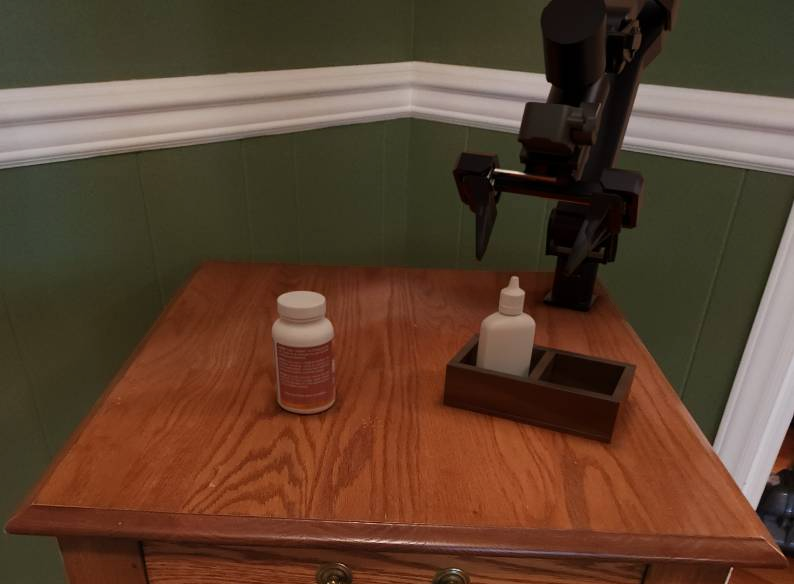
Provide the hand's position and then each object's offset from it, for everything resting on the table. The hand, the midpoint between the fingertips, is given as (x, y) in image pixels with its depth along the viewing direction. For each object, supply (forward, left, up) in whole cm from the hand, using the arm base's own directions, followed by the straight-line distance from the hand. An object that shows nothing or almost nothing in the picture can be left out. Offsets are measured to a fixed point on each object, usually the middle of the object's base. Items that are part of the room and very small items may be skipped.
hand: (521, 266), depth 73 cm
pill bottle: (+13, -18, -14) cm, 26 cm away
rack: (+2, +4, -13) cm, 14 cm away
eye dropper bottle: (+2, 0, -13) cm, 13 cm away
